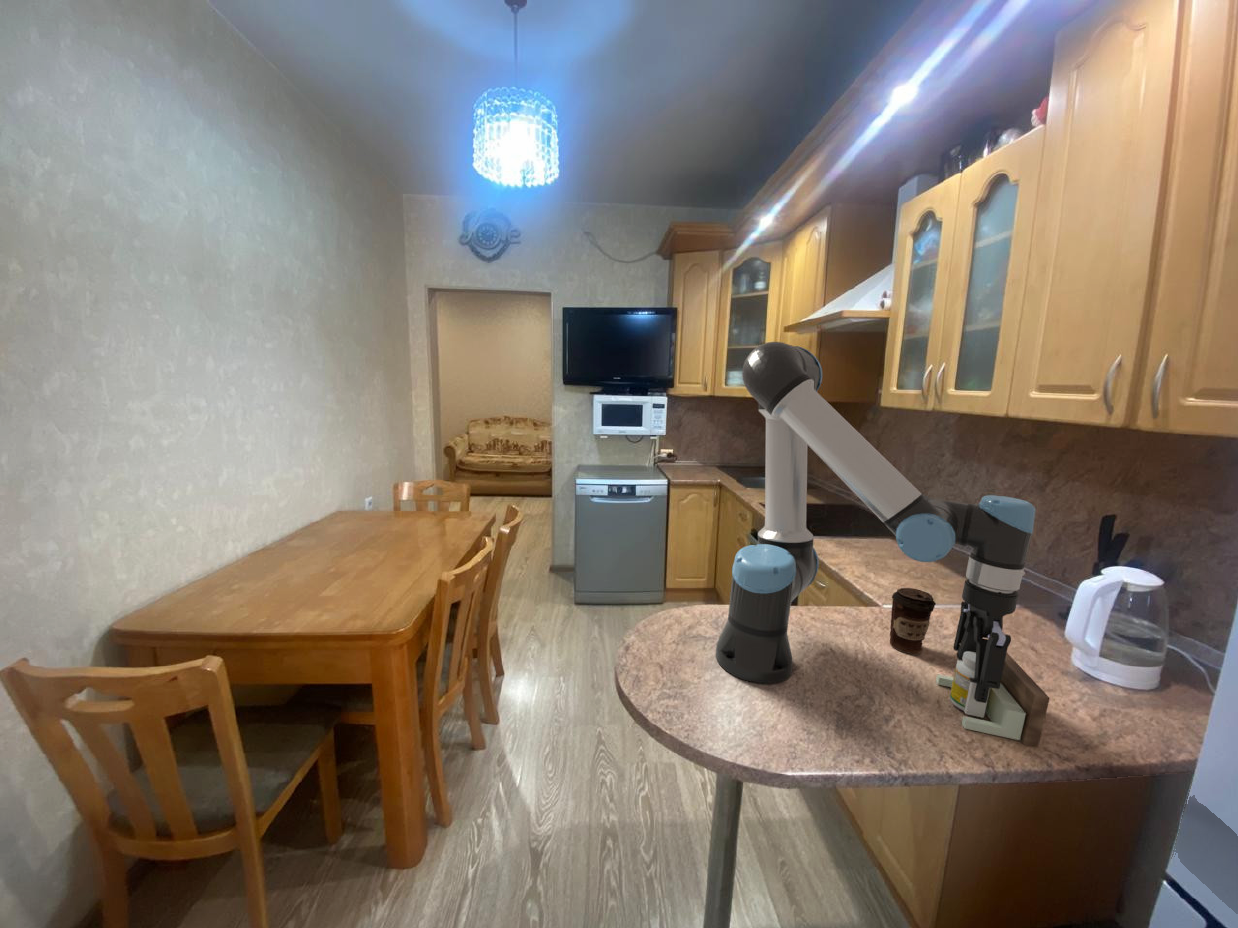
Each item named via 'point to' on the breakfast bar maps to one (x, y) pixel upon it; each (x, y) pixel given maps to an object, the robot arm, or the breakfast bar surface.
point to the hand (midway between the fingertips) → (966, 703)
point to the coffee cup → (910, 619)
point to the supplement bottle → (963, 679)
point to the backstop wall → (1026, 700)
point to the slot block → (995, 713)
